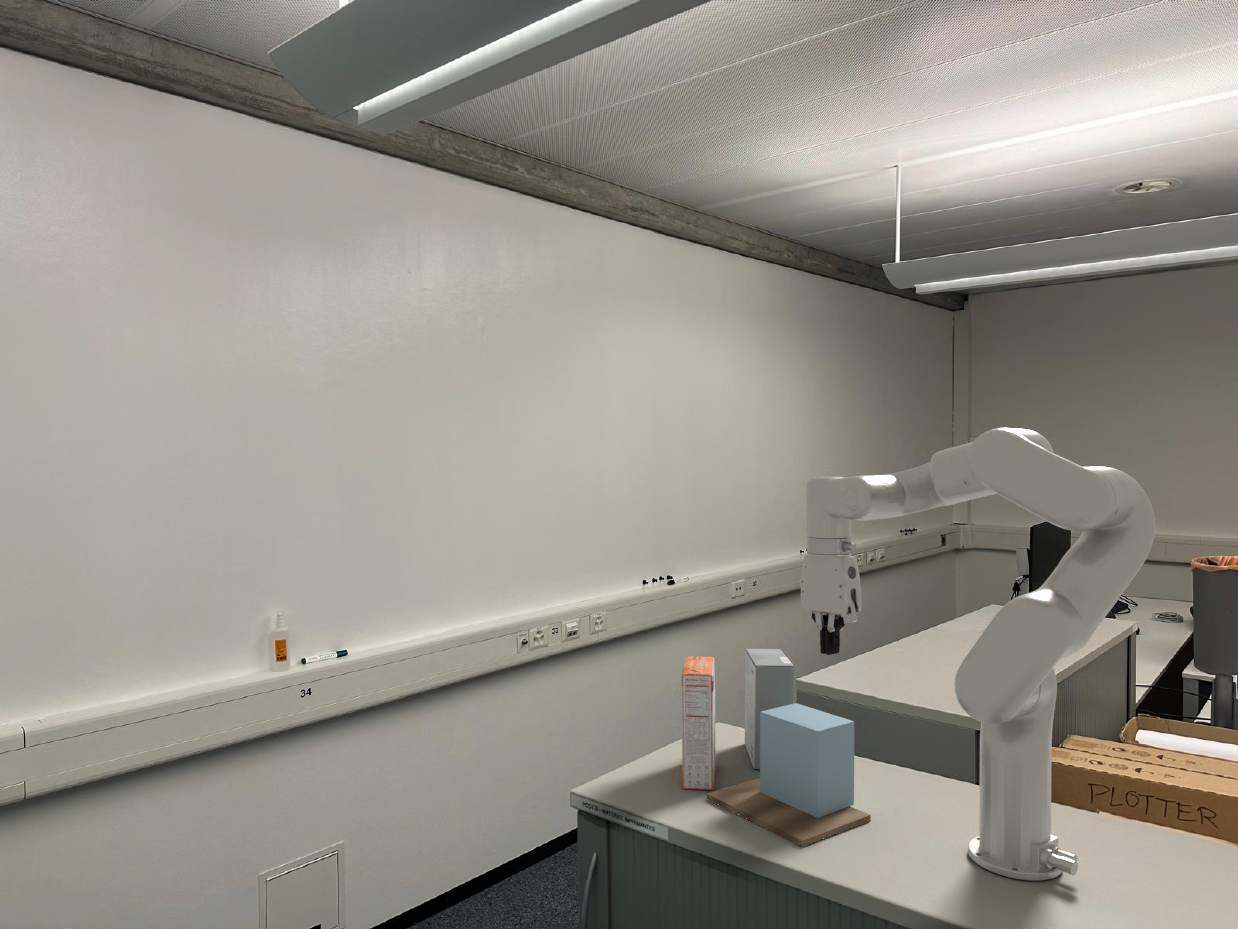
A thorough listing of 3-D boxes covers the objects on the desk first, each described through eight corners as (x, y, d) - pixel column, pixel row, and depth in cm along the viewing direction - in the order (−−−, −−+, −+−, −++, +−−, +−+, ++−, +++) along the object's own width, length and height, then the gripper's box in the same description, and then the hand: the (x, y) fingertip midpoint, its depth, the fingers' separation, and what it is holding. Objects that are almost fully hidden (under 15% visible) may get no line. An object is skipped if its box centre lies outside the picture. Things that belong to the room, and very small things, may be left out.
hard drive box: (794, 771, 160) (794, 666, 160) (753, 771, 160) (754, 665, 160) (780, 743, 175) (780, 647, 175) (743, 743, 176) (743, 647, 176)
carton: (854, 721, 142) (817, 731, 137) (854, 804, 142) (817, 817, 137) (796, 703, 152) (760, 711, 147) (795, 780, 153) (759, 792, 147)
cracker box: (684, 762, 165) (685, 654, 165) (716, 763, 164) (716, 655, 164) (680, 790, 151) (680, 672, 151) (714, 792, 150) (714, 674, 150)
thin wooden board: (870, 821, 138) (870, 815, 138) (803, 847, 129) (803, 840, 129) (772, 779, 156) (772, 774, 156) (706, 799, 147) (706, 793, 146)
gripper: (878, 549, 144) (879, 657, 143) (808, 543, 155) (810, 643, 155) (851, 552, 139) (852, 664, 139) (781, 546, 151) (782, 649, 151)
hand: (830, 653), depth 147 cm, fingers closed
